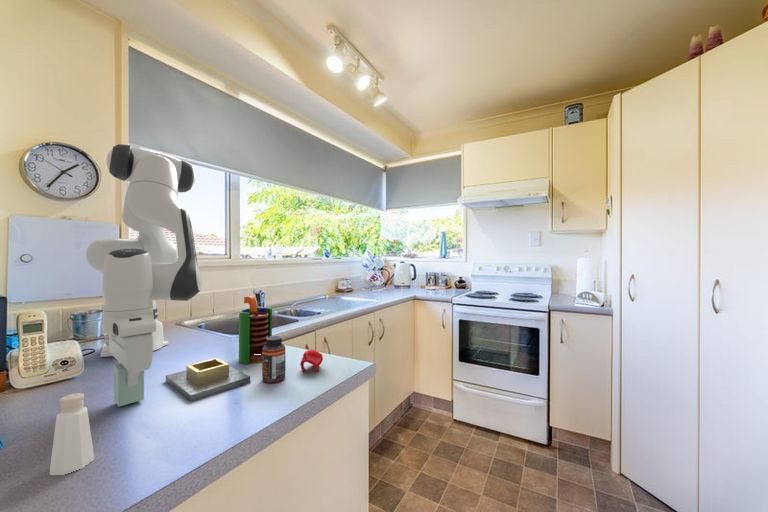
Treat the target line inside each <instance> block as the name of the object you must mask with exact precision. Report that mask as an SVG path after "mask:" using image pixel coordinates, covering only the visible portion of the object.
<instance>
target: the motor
mask: <svg viewBox="0 0 768 512" xmlns="http://www.w3.org/2000/svg"><path fill="white" fill-rule="evenodd" d="M256 299H257V298H256V297H255V296H253V295H250V296H244V297H243V300H244V301H243V303H244V304H248V305H249V307H248V308H244V309H240V310H239V312H238V313H239V314H238V362H239V363H241V364H243V365H249V364H250V363H249V362H256V363H259V362H258V361H262V349H263V347H264V346H265V345H266V338H267V337H270V336H273V308H271V307H258V306H257V300H256ZM254 354H261V355H254Z"/></svg>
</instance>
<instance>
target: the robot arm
mask: <svg viewBox="0 0 768 512" xmlns="http://www.w3.org/2000/svg"><path fill="white" fill-rule="evenodd" d="M106 166H107V168H108V173H110V175H111V176H113V178H116V179H118V180H121V181H123V182H125V181H128V182H129V183H128V185H127V189H126V191H125V192H126V193H125V197H124V203H123V208H122V209H123V210H122V215H121V219H122V222H123V223H124V224H125V226H127V227H128V228H129V229H132V230H133V231H135V232H138V237H137V238H118V237H111V238H104V239H96V240H94V241H92V242H91V243H90V244H89V245H88V246H87V249H86V251H85V257H86V261H87V263H88V264H89V265H90V267H92V268H93V269H94V270H95V271H96V270H97V271H99V272H100V273H101V274H102V293H103V295H104V304H103V305H102V332H103V333H104V334H103V341H106V342H105V343H104V344H103V346H102V348H101V351H100V356H99V357H100V358H106V357H113V358H114V359H116V361H118V363H117V364H121V365H122V366H123V367H124V368H125V369H126V370H127V378H126V379H127V385H128V386H129V387H132V386H136V385H137V384H138V377H139V373H140V371H144V372H145V371H147V370H149V369H150V368H151V366H152V361H153V355H154V354H153V352H154V351H157V350H159V349H161V348H162V347H164V346H167V345H169V341H168V340H164V329H163V328H164V327H163V322H161V321H159V320H158V315H159V312H158V308H157V301H170V300H171V301H177V302H178V301H180V302H181V301H186V302H187V301H190V300H191V299H193V298H194V297H195V296H196V295H198V293H200V291H201V289H202V282H203V281H202V275H201V271H200V269H199V266H198V258H197V252H196V244H195V238H194V231H193V226H192V222H191V218H190V215H189V213H188V211H187V209H186V208H183V207H181V206H180V204H179V200H178V193H187V192H189V191H190V190H191V189H192V188H193V186H195V185H194V184H195V182H196V178H197V177H196V171H195V167H194V166H193V164H192V163H190V162H188V161H187V160H184V159H179V158H177V157H175V156H171V155H168V154H165V153H162V152H159V151H153V150H149V149H145V148H139V147H133V146H131V145H128V144H122V143H121V144H116V145H114V146H113V147H112V148H111V149H110V150H109V152H108V153H107V157H106ZM164 229H165V230H168V231H170V232H172V234H174V235H175V241H176V245H175V244H174V243H173V242H172V241H170V239H168V238H167V236H166V234H165V233H166V232H165V230H164Z"/></svg>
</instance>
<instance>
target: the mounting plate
mask: <svg viewBox="0 0 768 512" xmlns="http://www.w3.org/2000/svg"><path fill="white" fill-rule="evenodd" d="M185 367H186V369H185V370H182V371H178V372H174V373H170V374H168V375H167V374H166V375H165V383H167V384H168V385H170V386H171V387H172V388H173V389H174V390H176V391H177V392H178V393H180V395H182V396H184V398H186V399H187V400H188V401H190V403H191V402H194V401H197V400H201V399H204V398H207V397H210V396H213V395H216V394H219V393H222V392H225V391H228V390H230V389H234V388H237V386H238V387H241V386H242V385H243V386H244V385H246V384H249V383H251V376H250V375H248V374H246V373H244V372H242V371H240V370H238V369H236V368H234V367H232V366H231V365H230V364H229V363H228V362H226V361H224V360H222V359H220V358H218V357H215V358H210V359H208V360H207V359H206V360H203V361H200V362H195V363H190V364H187V365H186V366H185Z"/></svg>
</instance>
